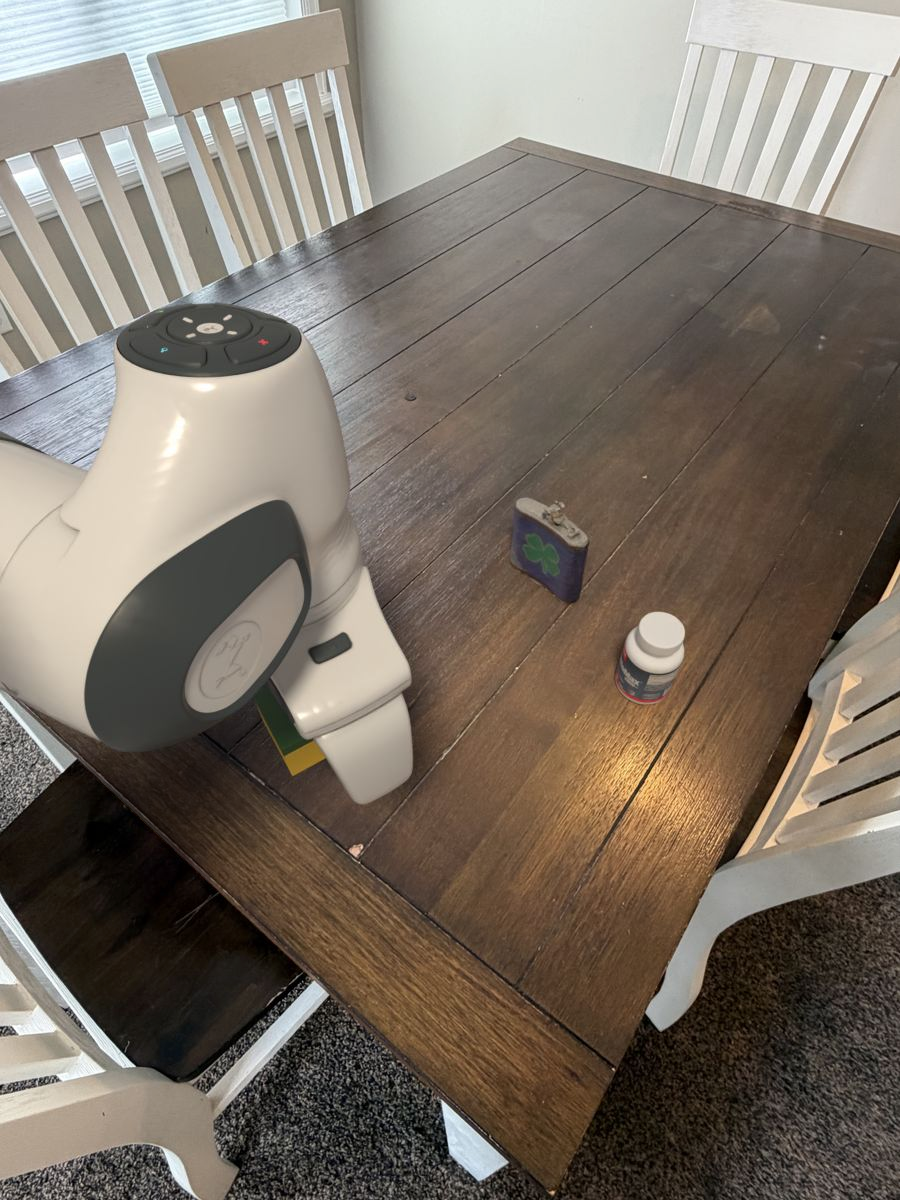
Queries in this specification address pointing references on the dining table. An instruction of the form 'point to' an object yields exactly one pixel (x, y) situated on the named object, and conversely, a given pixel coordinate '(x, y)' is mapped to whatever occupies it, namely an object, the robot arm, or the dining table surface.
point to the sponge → (286, 734)
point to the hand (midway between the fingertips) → (324, 710)
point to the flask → (549, 548)
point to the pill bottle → (651, 658)
